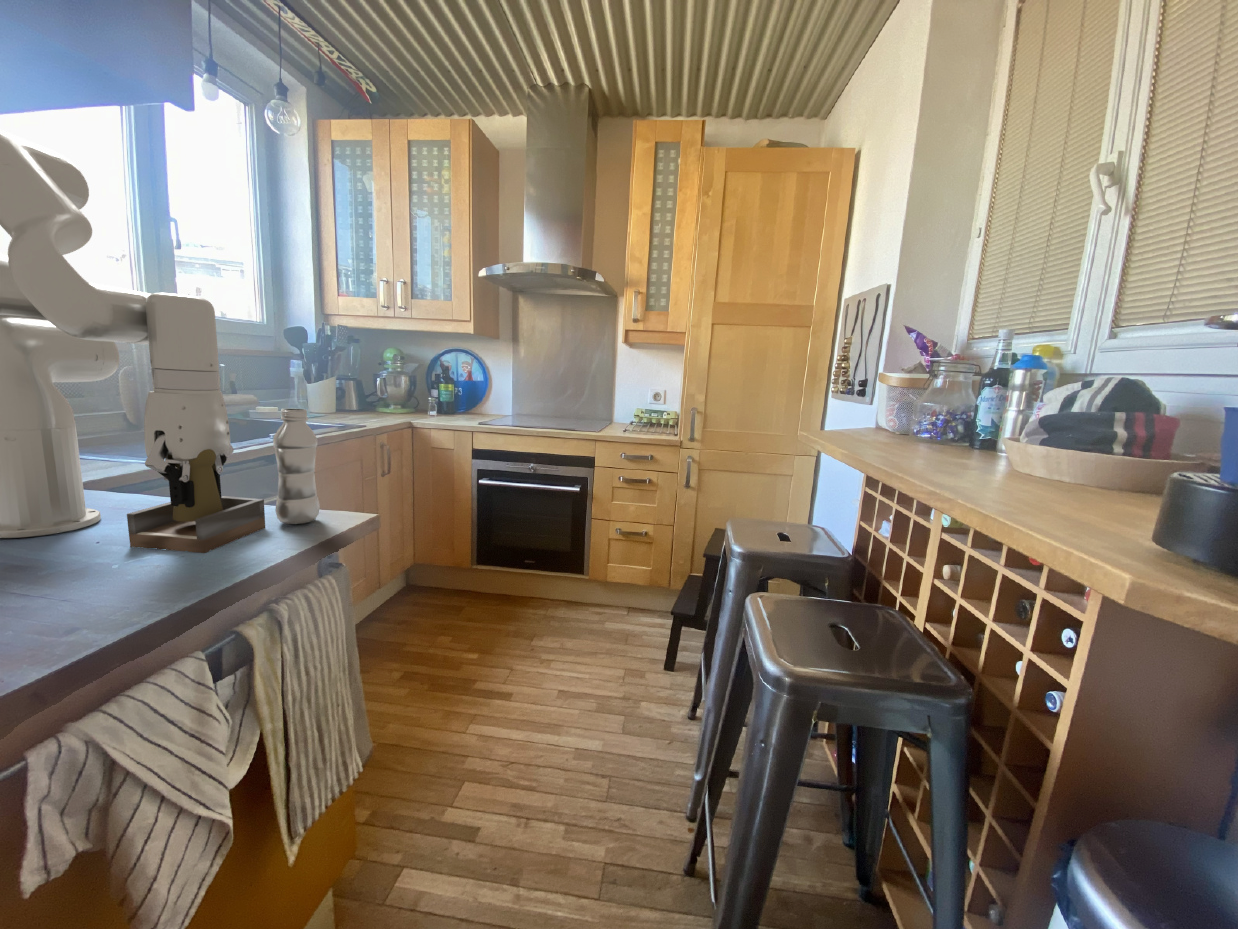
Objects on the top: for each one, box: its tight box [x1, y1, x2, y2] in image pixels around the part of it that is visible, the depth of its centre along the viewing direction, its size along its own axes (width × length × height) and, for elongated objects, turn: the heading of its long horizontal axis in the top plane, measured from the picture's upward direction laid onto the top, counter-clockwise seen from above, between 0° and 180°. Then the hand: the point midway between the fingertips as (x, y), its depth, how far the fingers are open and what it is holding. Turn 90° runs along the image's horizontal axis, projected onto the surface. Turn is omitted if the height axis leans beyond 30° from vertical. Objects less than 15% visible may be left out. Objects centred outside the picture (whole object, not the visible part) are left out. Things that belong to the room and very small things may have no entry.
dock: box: [126, 495, 266, 554], centre depth 77 cm, size 11×12×5 cm
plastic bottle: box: [272, 407, 320, 525], centre depth 85 cm, size 6×7×20 cm
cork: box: [173, 449, 223, 522], centre depth 75 cm, size 6×6×11 cm
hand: (197, 501), depth 76 cm, fingers closed on cork, 4 cm apart
